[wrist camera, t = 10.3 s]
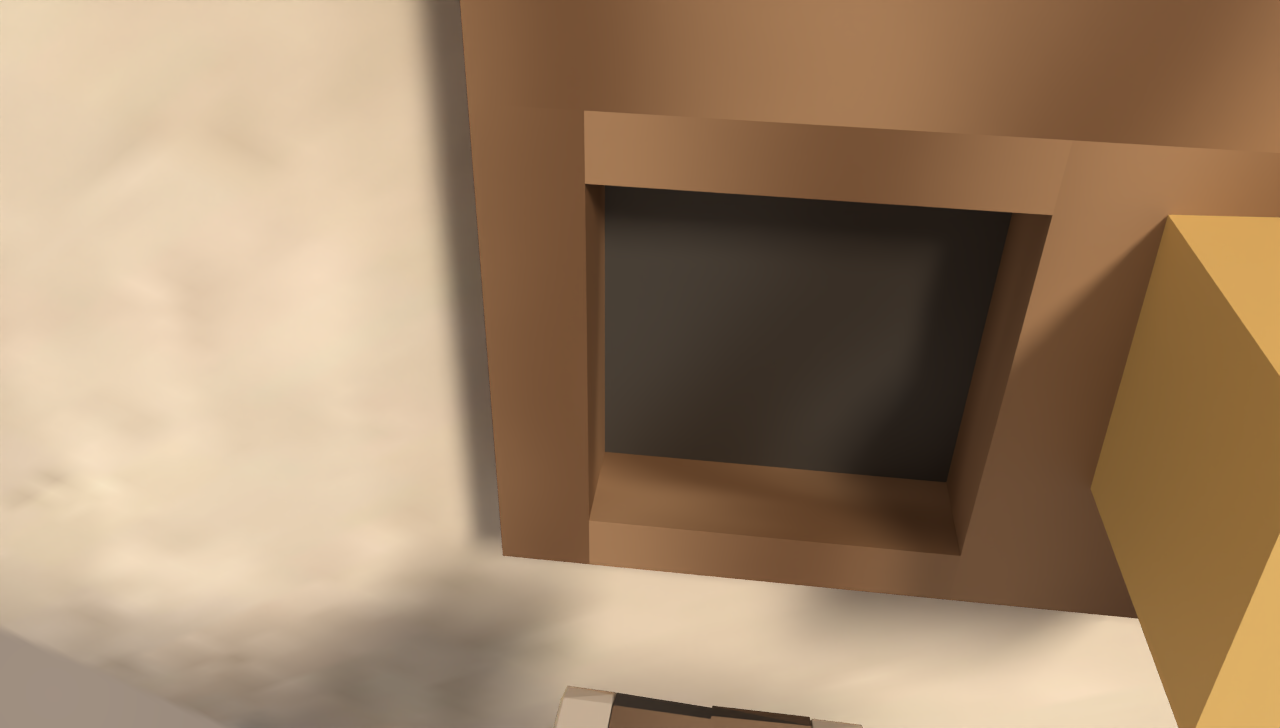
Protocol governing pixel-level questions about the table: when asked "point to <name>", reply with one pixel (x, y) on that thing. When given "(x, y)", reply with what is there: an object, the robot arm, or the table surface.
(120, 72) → the table surface
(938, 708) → the table surface
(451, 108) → the table surface
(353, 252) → the table surface
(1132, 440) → the block
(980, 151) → the box
